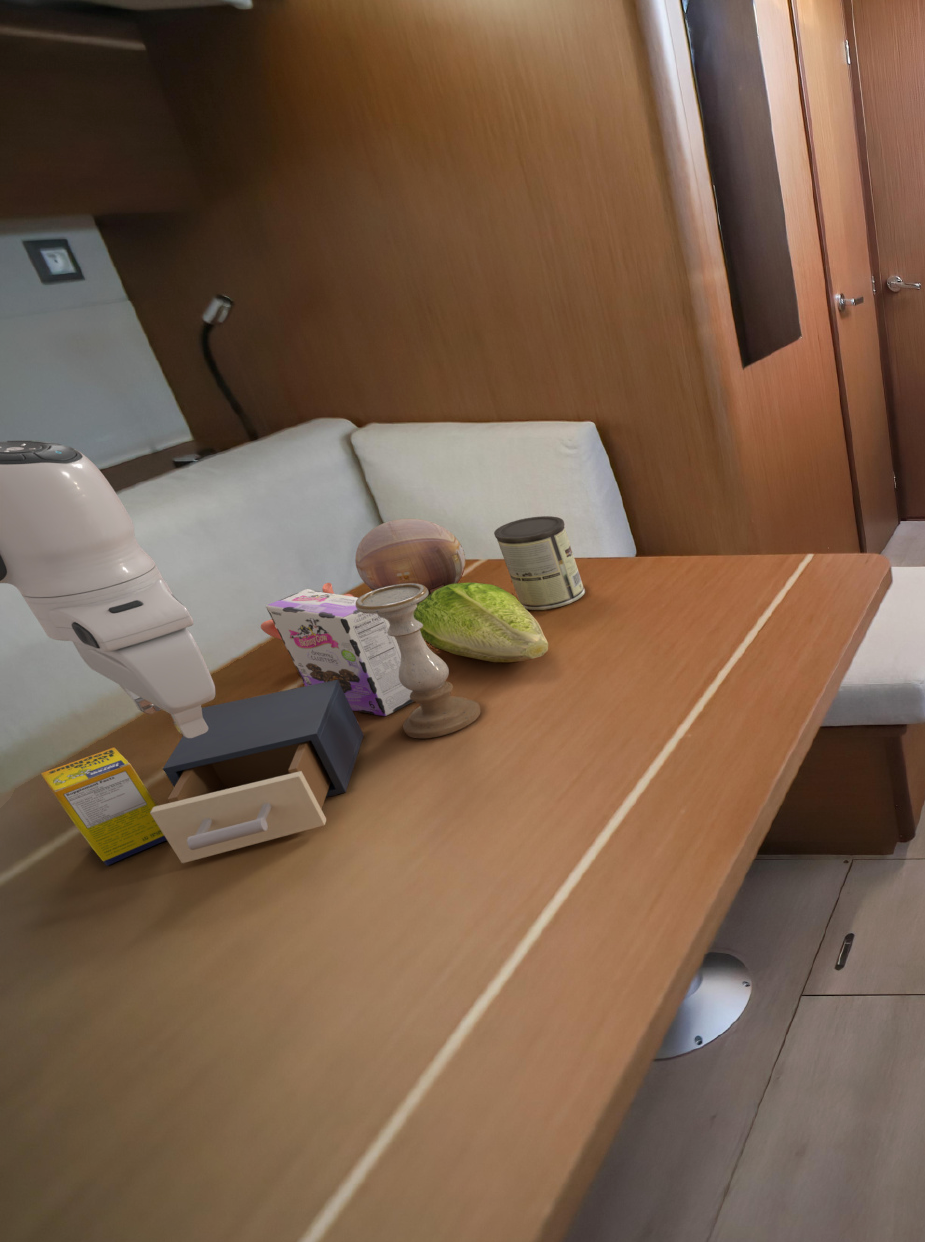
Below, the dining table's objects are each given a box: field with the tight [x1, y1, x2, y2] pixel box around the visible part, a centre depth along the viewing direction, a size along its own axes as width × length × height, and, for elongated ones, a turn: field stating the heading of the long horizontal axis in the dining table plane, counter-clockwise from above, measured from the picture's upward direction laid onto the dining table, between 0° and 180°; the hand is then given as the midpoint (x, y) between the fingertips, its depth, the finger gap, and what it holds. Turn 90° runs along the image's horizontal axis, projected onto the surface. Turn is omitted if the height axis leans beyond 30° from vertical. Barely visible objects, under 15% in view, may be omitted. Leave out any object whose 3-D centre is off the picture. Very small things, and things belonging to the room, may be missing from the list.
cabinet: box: [162, 680, 365, 798], centre depth 113 cm, size 15×14×9 cm
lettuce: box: [413, 582, 549, 663], centre depth 142 cm, size 12×24×13 cm
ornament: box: [354, 518, 467, 602], centre depth 158 cm, size 15×15×15 cm
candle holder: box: [355, 583, 481, 739], centre depth 122 cm, size 9×9×20 cm
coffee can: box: [493, 515, 586, 611], centre depth 159 cm, size 10×10×14 cm
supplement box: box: [40, 747, 168, 867], centre depth 101 cm, size 6×6×11 cm
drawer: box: [150, 741, 331, 864], centre depth 104 cm, size 18×12×7 cm
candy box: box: [265, 588, 415, 717], centre depth 128 cm, size 14×6×16 cm, turn 76°
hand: (174, 721), depth 93 cm, fingers open, 8 cm apart
